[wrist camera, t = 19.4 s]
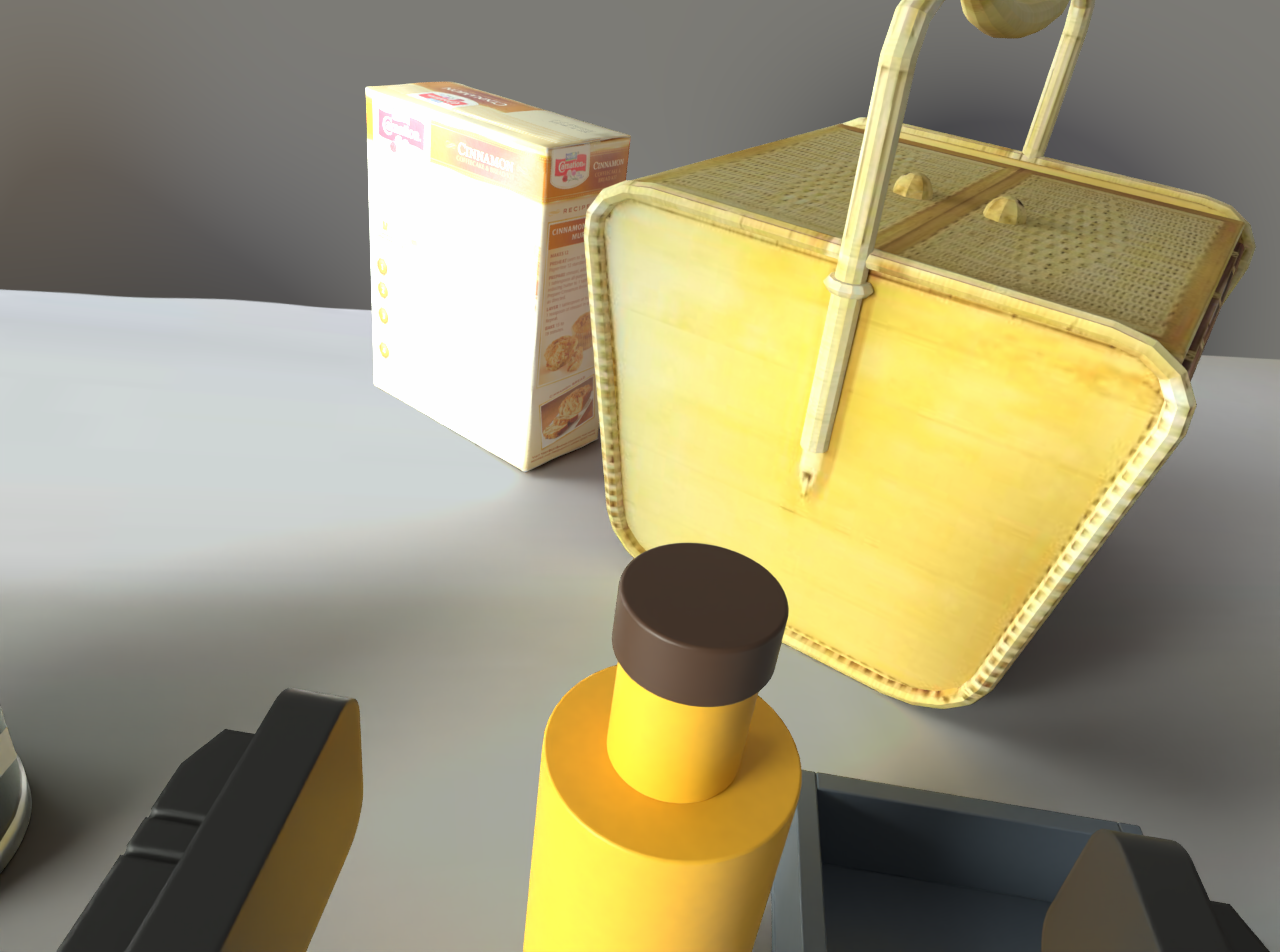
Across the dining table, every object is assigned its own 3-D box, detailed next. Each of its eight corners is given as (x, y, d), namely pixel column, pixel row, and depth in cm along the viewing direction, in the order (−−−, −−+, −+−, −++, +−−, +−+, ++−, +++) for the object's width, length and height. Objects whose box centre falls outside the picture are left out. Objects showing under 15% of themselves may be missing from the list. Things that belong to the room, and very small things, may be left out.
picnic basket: (779, 384, 73) (877, -60, 58) (1129, 517, 62) (1367, 14, 47) (539, 551, 52) (590, -87, 36) (1010, 800, 41) (1379, 40, 25)
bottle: (473, 1069, 29) (500, 560, 19) (620, 962, 33) (710, 482, 22) (587, 1253, 26) (696, 749, 15) (738, 1111, 29) (910, 623, 19)
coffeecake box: (601, 439, 63) (636, 133, 53) (523, 476, 58) (545, 146, 48) (450, 359, 70) (454, 77, 60) (369, 386, 65) (360, 83, 55)
